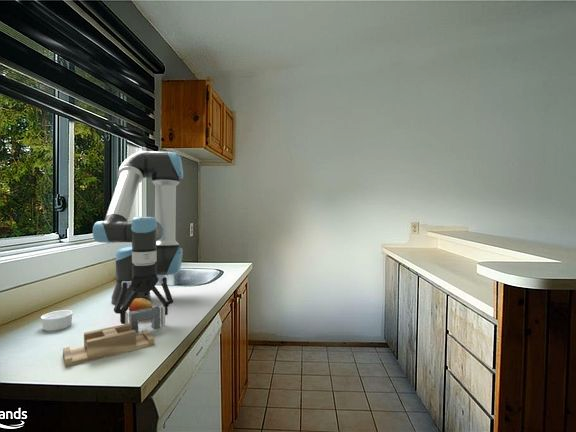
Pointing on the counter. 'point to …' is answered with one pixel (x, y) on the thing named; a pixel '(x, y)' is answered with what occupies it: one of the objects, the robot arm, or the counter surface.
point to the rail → (107, 344)
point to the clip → (145, 317)
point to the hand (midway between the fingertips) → (145, 328)
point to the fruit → (140, 304)
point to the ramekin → (56, 320)
